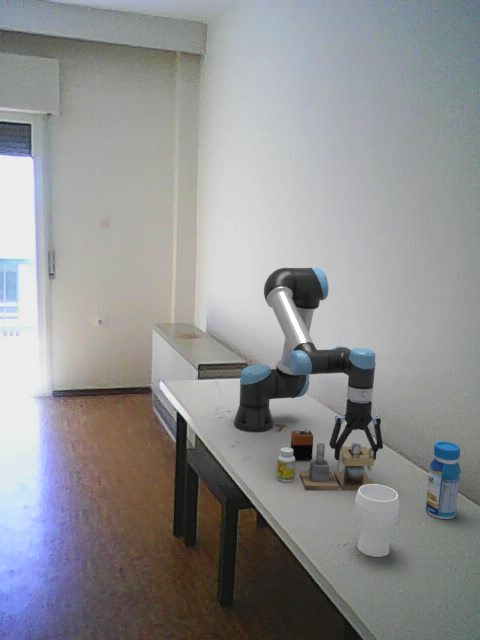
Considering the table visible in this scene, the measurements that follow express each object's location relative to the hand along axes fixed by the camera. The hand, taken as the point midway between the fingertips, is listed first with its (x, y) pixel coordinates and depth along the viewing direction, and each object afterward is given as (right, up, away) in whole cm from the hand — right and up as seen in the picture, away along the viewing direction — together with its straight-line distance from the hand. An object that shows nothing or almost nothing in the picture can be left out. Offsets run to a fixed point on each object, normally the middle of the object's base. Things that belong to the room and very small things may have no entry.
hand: (354, 469), depth 184 cm
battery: (-15, -1, +18) cm, 23 cm away
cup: (-2, -11, -36) cm, 38 cm away
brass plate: (0, +3, -1) cm, 3 cm away
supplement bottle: (-21, -4, +2) cm, 22 cm away
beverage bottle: (+21, -8, -16) cm, 28 cm away
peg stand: (0, -4, +1) cm, 4 cm away
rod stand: (-11, -4, 0) cm, 12 cm away
